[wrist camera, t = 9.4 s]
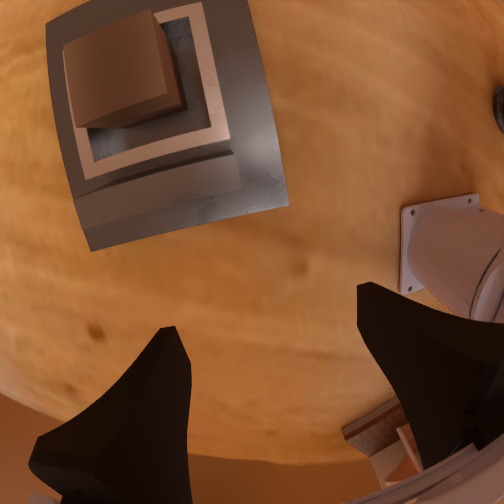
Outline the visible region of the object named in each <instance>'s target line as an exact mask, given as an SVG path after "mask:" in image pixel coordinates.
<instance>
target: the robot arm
mask: <svg viewBox="0 0 504 504" xmlns="http://www.w3.org/2000/svg"><path fill="white" fill-rule="evenodd" d="M468 200H469V201H468ZM412 210H413V213H412V214H411V211H412ZM409 287H410V288H409ZM408 288H409V289H408ZM424 288H427V289H428V290H429V291H430V292H431V293H432V294H433V295H435V296H436V297H437V298H438V299H439V300H440V301H441V302H442V303H443V304H445V305H446V306H447V307H448V308H449V309H450V310H451V311H452V312H453V313H454V314H455V315H456V316H454V315H451V314H448V313H444V312H441V311H438V310H435V309H432V308H430V307H427V306H425V305H422V304H420V303H417V302H415V301H413V300H410V299H408V298H406V297H404V296H402V295H406V294H409V293H412V292H415V291H418V290H421V289H424ZM399 292H400V293H401V294H402V295H399V294H397V293H395V292H393V291H391V290H389V289H387V288H385V287H382V286H380V285H378V284H376V283H373V282H367V283H364V284H360V285H357V327H358V329H359V332H360V334H361V336H362V338H363V340H364V342H365V344H366V346H367V348H368V349H369V351H370V353H371V354H372V356H373V357H374V359H375V360H376V362H377V363H378V365H379V366H380V368H381V370H382V371H383V373H384V374H385V376H386V377H387V379H388V381H389V382H390V384H391V385H392V387H393V389H394V391H395V393H396V395H397V397H398V399H399V401H400V404H401V406H402V408H403V410H404V413H405V415H406V418H407V420H408V423H409V425H410V428H411V430H412V433H413V436H414V439H415V442H416V445H417V448H418V451H419V455H420V458H421V462H422V465H423V470H424V471H422V472H420V473H418V474H416V475H414V476H412V477H410V478H407V479H405V480H403V481H401V482H398V483H396V484H394V485H391V486H389V487H387V488H384V489H381V490H379V491H377V492H374V493H371V494H368V495H366V496H363V497H360V498H357V499H354V500H351V501H348V502H344V503H341V504H404V503H406V502H408V501H410V500H412V499H415V498H417V497H418V498H417V500H416V502H414V503H412V504H495V503H496V502H498V501H499V500H500V499H501V498H503V497H504V215H501V214H499V213H497V212H495V211H492V210H490V209H488V208H485V207H483V206H480V205H479V195H478V194H475V193H473V194H468V195H462V196H457V197H452V198H447V199H441V200H436V201H431V202H426V203H421V204H415V205H410V206H406V207H404V208H403V209H402V211H401V268H400V287H399ZM191 387H192V376H191V362H190V360H189V358H188V356H187V353H186V351H185V349H184V346H183V344H182V342H181V339H180V337H179V335H178V332H177V330H176V327H175V326H171V327H165V328H160V329H159V331H158V332H157V333H156V334H155V335H154V337H153V338H152V339H151V341H150V342H149V343H148V345H147V346H146V347H145V348H144V350H143V351H142V352H141V354H140V355H139V356H138V357H137V359H136V360H135V361H134V362H133V364H132V365H131V366H130V367H129V368H128V369H127V371H126V372H125V373H124V374H123V375H122V376H121V377H120V379H119V380H118V381H117V382H116V383H115V384H114V385H113V386H112V387H111V388H110V389H109V390H108V391H107V392H106V393H105V394H103V395H102V396H101V397H100V398H99V399H98V400H96V401H95V402H94V403H93V404H91V405H90V406H89V407H88V408H86V409H85V410H84V411H83V412H81V413H80V414H78V415H77V416H75V417H74V418H72V419H71V420H69V421H68V422H66V423H64V424H63V425H61V426H59V427H58V428H55V429H54V430H52V431H50V432H48V433H46V434H44V435H42V436H39V437H38V438H37V441H36V443H35V446H34V449H33V451H32V454H31V457H30V460H29V463H28V465H29V468H30V470H31V471H32V473H33V474H34V475H35V476H37V477H38V478H39V479H40V480H41V481H43V482H44V483H45V484H47V485H48V486H49V487H51V488H52V489H54V490H55V491H57V492H58V493H59V494H61V495H62V500H61V502H60V501H58V500H56V499H54V498H51V497H48V496H45V495H41V494H39V493H36V492H32V493H31V496H30V500H29V503H28V504H193V502H192V495H191V488H190V480H189V469H188V454H187V428H188V418H189V408H190V398H191Z"/></svg>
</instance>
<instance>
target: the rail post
mask: <svg viewBox="0 0 504 504" xmlns="http://www.w3.org/2000/svg"><path fill="white" fill-rule="evenodd" d="M63 49H64V58H65V67H66V74H67V81H68V88H69V94H70V100H71V105H72V110H73V116H74V121H75V125H76V128H119V129H128V128H131V127H134V126H136V125H139V124H142V123H145V122H148V121H152V120H155V119H158V118H161V117H164V116H168V115H171V114H175V113H178V112H182V111H185V110H188V106H187V102H186V98H185V93H184V89H183V84H182V80H181V75H180V71H179V66H178V61H177V57H176V52H175V50H174V49H173V47H172V45H171V43H170V42H169V40H168V38H167V36H166V35H165V33H164V31H163V29H162V28H161V26H160V24H159V22H158V21H157V19H156V17H155V16H154V14H153V12H152V10H151V9H150V10H147V11H144V12H141V13H138V14H135V15H132V16H129V17H126V18H124V19H121V20H119V21H116V22H114V23H111V24H109V25H106V26H104V27H102V28H99V29H97V30H95V31H93V32H90V33H88V34H86V35H84V36H82V37H80V38H78V39H76V40H74V41H72V42H70V43H68V44H66V45H64V46H63Z"/></svg>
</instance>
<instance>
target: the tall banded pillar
mask: <svg viewBox="0 0 504 504" xmlns="http://www.w3.org/2000/svg"><path fill="white" fill-rule="evenodd" d="M341 430H342V433H343V435H344V438H345V441H346V442H348V443H349V444H351V445H352V446H353V447H355V448H356V449H358V450H359V451H361V452H362V453H364V454H365V455H366V456H368V457H369V458H370V461H371V463H372V465H373V468H374V470H375V473H376V475H377V478H378V480H379V483H380V485H381V488H382V489H384V488H387V487H389V486H391V485H394V484H396V483H398V482H401V481H403V480H405V479H407V478H410V477H412V476H414V475H416V474H418V473H420V472H422V471H424V470H423V465H422V462H421V458H420V455H419V451H418V448H417V445H416V442H415V439H414V436H413V433H412V430H411V428H410V425H409V423H408V420H407V418H406V415H405V413H404V410H403V408H402V406H401V404H400V401H399V399H398V397H397V396H395V397H394V398H392V399H391V400H389V401H388V402H386V403H385V404H383V405H382V406H380V407H378V408H377V409H375V410H374V411H372V412H370V413H369V414H367V415H365V416H364V417H362V418H360V419H358V420H357V421H355V422H353V423H351V424H350V425H348V426H346V427H344V428H342V429H341ZM417 498H418V497H417ZM417 498H415V499H412V500H410V501H408V502H406V503H404V504H412V503H414V502H416V500H417Z"/></svg>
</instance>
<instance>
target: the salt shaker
mask: <svg viewBox="0 0 504 504" xmlns="http://www.w3.org/2000/svg"><path fill="white" fill-rule="evenodd" d="M493 111H494V116H495V119H496V122H497V125H498V127H499V129H500V130H501V131H502V133H504V86H499V87H498V88H497V89H496V90H495V92H494V96H493Z"/></svg>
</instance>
